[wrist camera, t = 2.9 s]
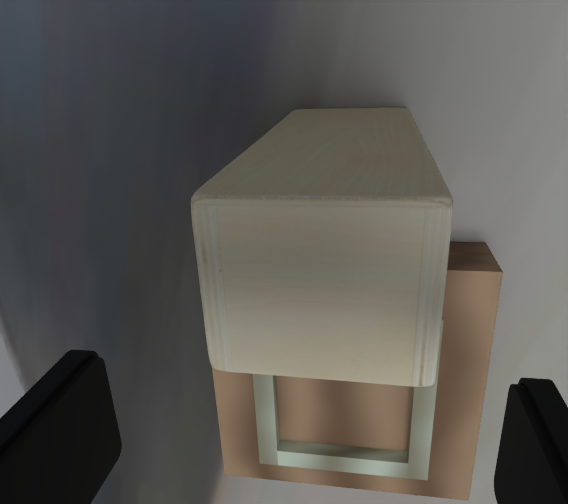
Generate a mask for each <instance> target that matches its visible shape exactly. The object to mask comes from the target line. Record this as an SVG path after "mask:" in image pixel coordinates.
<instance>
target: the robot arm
mask: <svg viewBox="0 0 568 504" xmlns="http://www.w3.org/2000/svg"><path fill="white" fill-rule="evenodd" d="M121 447H122V444H121V438H120V433H119V428H118V424H117V419H116V414H115V410H114V405H113V400H112V395H111V391H110V386H109V381H108V377H107V372H106V367H105V363H104V360H103V359H102V358H100V357H98V354H97V353H96V352H94V351H85V350H70V351H68V352H67V353H66V354H65V355H64V356H63V357H62V358H61V359H60V360H59V361H58V362H57V363H56V364H55V365H54V366H53V367H52V368H51V369H50V370H49V371H48V372H47V373H46V374H45V375H44V376H43V377H42V378H41V379H40V380H39V381H38V382H37V383H36V384H35V385H34V386H33V387H32V388H31V389H30V390H29V391H28V392H27V393H26V394H25V395H24V396H23V397H22V398H21V399H20V400H19V401H18V402H17V403H16V404H14V405H13V406H12V407H11V408H10V410H8V412H7V413H6V414H5V415H3V416H2V418H0V504H91V502H92V500H93V499H94V497H95V496H96V494H97V492H98V491H99V489H100V488H101V486H102V484H103V483H104V481H105V479H106V478H107V476H108V475H109V473H110V471H111V470H112V468H113V466H114V465H115V463H116V462H117V460H118V458H119V456H120V453H121ZM494 491H495V496H496V500H497V503H498V504H568V407H567V405H566V404H565V402H564V400H563V398H562V397H561V395H560V393H559V391H558V389H557V388H556V386H555V384H554V383H553V381H552V380H549V379H534V378H521V379H520V380H519V383H518V384H511V385H510V387H509V392H508V398H507V404H506V410H505V416H504V422H503V428H502V434H501V440H500V446H499V452H498V458H497V464H496V470H495V476H494Z"/></svg>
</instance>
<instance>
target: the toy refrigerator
mask: <svg viewBox="0 0 568 504" xmlns="http://www.w3.org/2000/svg"><path fill="white" fill-rule="evenodd" d="M452 213H453V199H452V196H451V194H450V192H449V190H448V188H447V186H446V184H445V182H444V180H443V178H442V176H441V174H440V171H439V169H438V167H437V165H436V163H435V161H434V159H433V157H432V155H431V153H430V152H429V150H428V148H427V146H426V143H425V141H424V139H423V137H422V135H421V133H420V131H419V129H418V127H417V125H416V123H415V121H414V119H413V117H412V115H411V113H410V111H409V109H408V108H403V107H379V108H325V109H297V110H293V111H292V112H291V113H290V114H288V115H287V116H286V117H285V118H284V119H282V120H281V121H280V122H279V123H278V124H276V125H275V126H274V127H273V128H272V129H271V130H269V131H268V132H267V133H266V134H265V135H263V136H262V137H261V138H260V139H259V140H258V141H256V142H255V143H254V144H253V145H251V146H250V147H249V148H248V149H247V150H245V151H244V152H243V153H242V154H240V155H239V156H238V157H237V158H236V159H234V160H233V161H232V162H231V163H229V164H228V165H227V166H226V167H224V168H223V169H222V170H221V171H219V172H218V173H217V174H216V175H215V176H214V177H212V178H211V179H210V180H209V181H207V182H206V183H205V184H204V185H202V186H201V187H200V188H199V189H198V190H197V191H196V192H195V193H194V194H193V196H192V199H191V214H192V224H193V232H194V241H195V249H196V257H197V265H198V273H199V282H200V290H201V298H202V306H203V314H204V323H205V331H206V339H207V347H208V354H209V359H210V362H211V366H212V367H213V368H214V369H217V370H221V371H227V372H237V373H250V374H263V375H276V376H289V377H301V378H314V379H326V380H339V381H351V382H363V383H375V384H387V385H400V386H412V387H426V386H432V385H433V384H434V383H435V378H436V372H437V362H438V353H439V344H440V334H441V324H442V314H443V304H444V294H445V284H446V275H447V266H448V256H449V246H450V236H451V225H452Z"/></svg>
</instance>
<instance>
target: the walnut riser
mask: <svg viewBox="0 0 568 504" xmlns="http://www.w3.org/2000/svg"><path fill="white" fill-rule="evenodd" d="M502 274H503V271H502V270H501V268H500V266H499V265H498V263H497V261H496V260H495V258H494V256H493V255H492V253H491V251H490V249H489V248H488V246H487V244H486V243H476V242H450V246H449V256H448V266H447V275H446V284H445V294H444V304H443V314H442V324H441V334H440V344H439V353H438V362H437V372H436V378H435V383H434V384H433V385H432V386H426V387H412V386H400V385H387V384H375V383H363V382H351V381H339V380H326V379H314V378H301V377H289V376H276V375H263V374H250V373H237V372H227V371H221V370H217V369H214V368H213V367H212V370H213V378H214V387H215V395H216V403H217V412H218V420H219V429H220V437H221V445H222V454H223V462H224V471H225V475H233V476H242V477H252V478H261V479H271V480H280V481H289V482H299V483H308V484H318V485H327V486H336V487H346V488H355V489H365V490H374V491H383V492H393V493H402V494H412V495H421V496H430V497H440V498H449V499H459V500H468V501H469V495H470V488H471V482H472V475H473V468H474V462H475V455H476V448H477V442H478V435H479V428H480V421H481V415H482V408H483V401H484V395H485V388H486V381H487V375H488V368H489V361H490V354H491V348H492V341H493V334H494V328H495V321H496V314H497V308H498V301H499V294H500V287H501V281H502Z"/></svg>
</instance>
